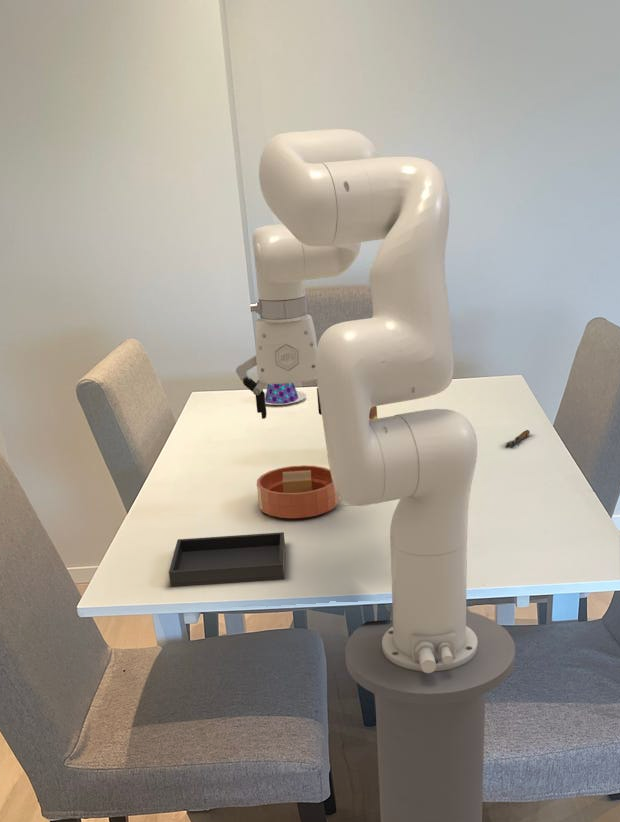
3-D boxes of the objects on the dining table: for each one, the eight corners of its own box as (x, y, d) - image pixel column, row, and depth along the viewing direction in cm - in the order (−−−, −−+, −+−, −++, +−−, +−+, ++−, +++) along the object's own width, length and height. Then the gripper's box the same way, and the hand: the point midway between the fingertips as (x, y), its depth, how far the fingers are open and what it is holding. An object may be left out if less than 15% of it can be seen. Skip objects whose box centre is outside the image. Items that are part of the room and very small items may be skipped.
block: (313, 506, 164) (311, 479, 161) (284, 508, 163) (282, 481, 161) (312, 496, 168) (310, 470, 165) (285, 498, 168) (282, 471, 165)
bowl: (340, 518, 160) (338, 491, 157) (258, 523, 160) (255, 496, 157) (337, 488, 172) (335, 463, 170) (261, 493, 172) (258, 468, 169)
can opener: (525, 434, 193) (525, 429, 193) (535, 436, 192) (535, 430, 191) (502, 446, 188) (502, 441, 187) (512, 448, 186) (512, 443, 186)
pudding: (266, 392, 232) (264, 371, 229) (312, 393, 229) (310, 372, 226) (250, 406, 222) (248, 385, 219) (298, 407, 219) (296, 385, 216)
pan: (284, 578, 141) (282, 564, 139) (171, 586, 140) (168, 572, 139) (285, 545, 151) (283, 532, 150) (179, 552, 151) (177, 539, 150)
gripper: (227, 317, 145) (240, 424, 154) (337, 309, 146) (344, 417, 154) (230, 308, 152) (242, 412, 160) (335, 301, 152) (342, 405, 161)
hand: (292, 414), depth 157 cm, fingers open, 9 cm apart
